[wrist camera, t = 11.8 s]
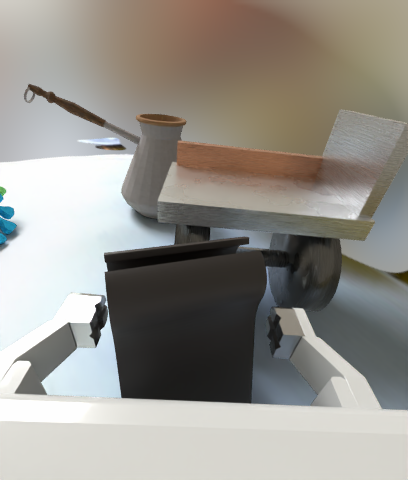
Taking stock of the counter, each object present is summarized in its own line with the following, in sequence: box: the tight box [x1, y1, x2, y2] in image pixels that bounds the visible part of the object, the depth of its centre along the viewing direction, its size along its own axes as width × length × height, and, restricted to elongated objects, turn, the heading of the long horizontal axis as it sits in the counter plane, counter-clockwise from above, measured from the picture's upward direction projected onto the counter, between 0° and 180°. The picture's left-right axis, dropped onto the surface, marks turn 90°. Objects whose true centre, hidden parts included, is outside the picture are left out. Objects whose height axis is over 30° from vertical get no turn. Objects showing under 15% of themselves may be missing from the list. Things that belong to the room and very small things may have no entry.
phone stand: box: [104, 237, 267, 404], centre depth 13 cm, size 9×6×12 cm, turn 20°
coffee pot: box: [24, 84, 186, 219], centre depth 33 cm, size 21×12×15 cm, turn 97°
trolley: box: [158, 110, 408, 312], centre depth 21 cm, size 15×10×17 cm
